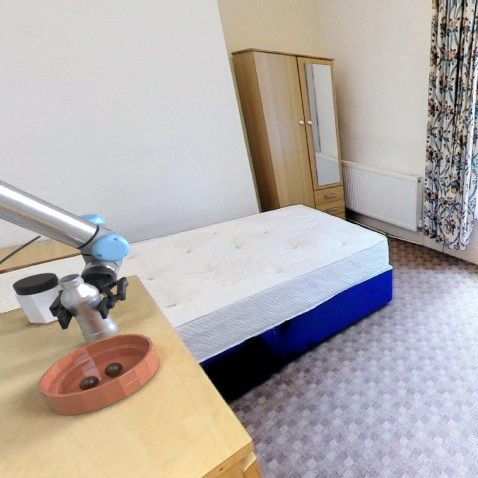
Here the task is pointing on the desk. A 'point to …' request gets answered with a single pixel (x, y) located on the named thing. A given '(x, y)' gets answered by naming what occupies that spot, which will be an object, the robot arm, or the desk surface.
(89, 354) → the bowl
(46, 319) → the jar
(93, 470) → the desk surface
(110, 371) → the bead
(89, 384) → the bead
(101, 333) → the plastic bottle
